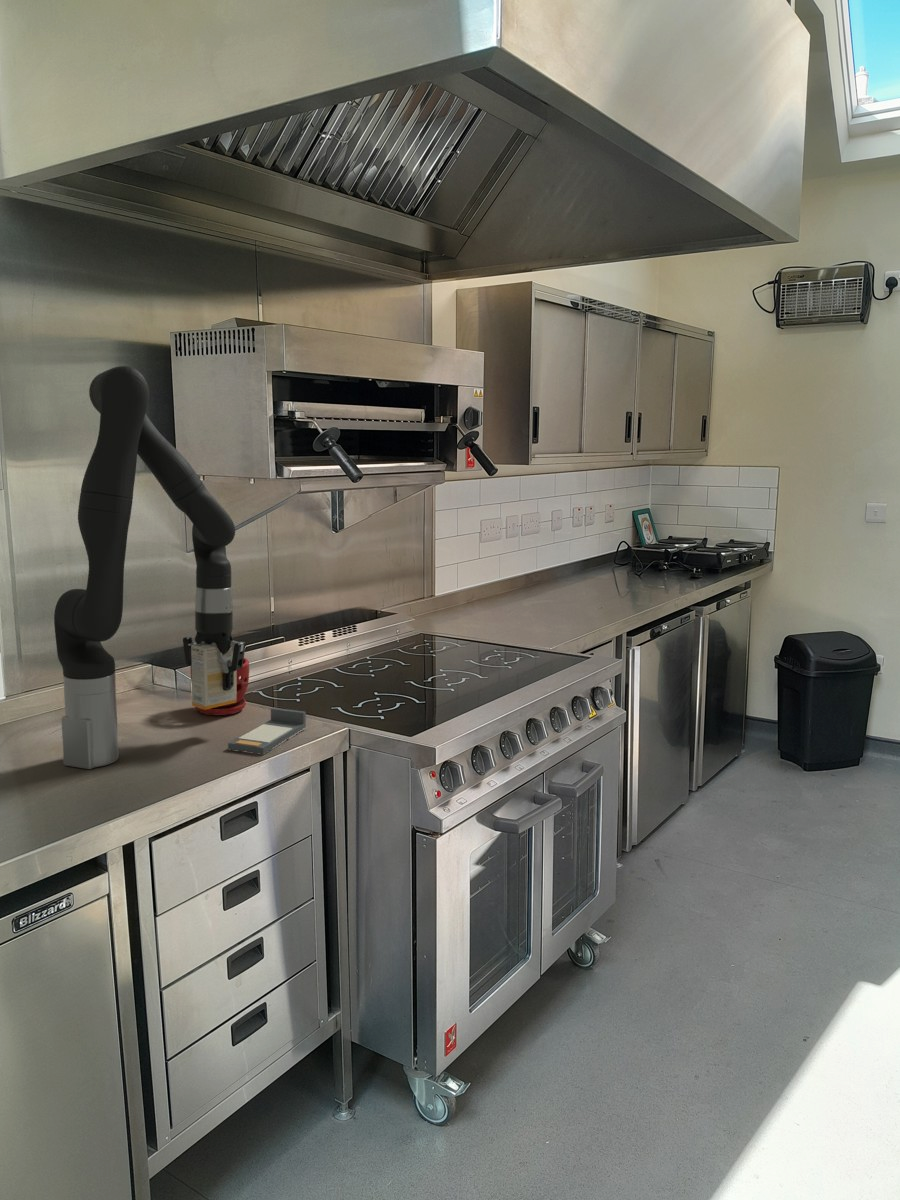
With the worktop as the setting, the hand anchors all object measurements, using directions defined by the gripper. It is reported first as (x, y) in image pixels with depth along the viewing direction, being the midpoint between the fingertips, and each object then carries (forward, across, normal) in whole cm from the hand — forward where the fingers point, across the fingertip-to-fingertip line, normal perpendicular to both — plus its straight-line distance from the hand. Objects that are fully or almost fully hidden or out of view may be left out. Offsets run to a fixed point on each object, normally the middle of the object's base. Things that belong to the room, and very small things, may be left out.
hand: (214, 687), depth 188 cm
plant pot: (+10, -9, +17) cm, 22 cm away
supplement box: (+4, 0, 0) cm, 4 cm away
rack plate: (+10, +11, +3) cm, 16 cm away
